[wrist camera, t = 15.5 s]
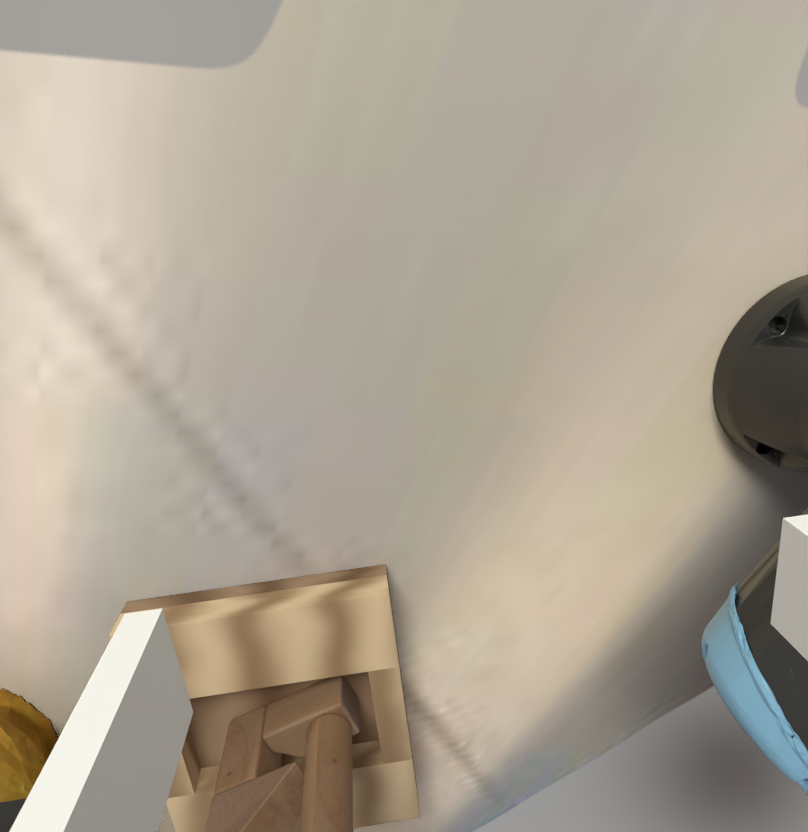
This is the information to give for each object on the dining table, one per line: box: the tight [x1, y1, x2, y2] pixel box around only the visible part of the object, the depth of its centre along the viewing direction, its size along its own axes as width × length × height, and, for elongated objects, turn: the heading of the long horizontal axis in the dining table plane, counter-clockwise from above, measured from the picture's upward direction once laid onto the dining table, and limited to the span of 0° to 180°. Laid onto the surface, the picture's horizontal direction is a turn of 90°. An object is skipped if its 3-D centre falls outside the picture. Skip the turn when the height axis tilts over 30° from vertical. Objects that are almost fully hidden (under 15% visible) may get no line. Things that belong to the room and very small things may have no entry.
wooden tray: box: [109, 564, 420, 832], centre depth 52 cm, size 21×24×4 cm
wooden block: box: [205, 676, 360, 832], centre depth 44 cm, size 4×11×18 cm, turn 115°
